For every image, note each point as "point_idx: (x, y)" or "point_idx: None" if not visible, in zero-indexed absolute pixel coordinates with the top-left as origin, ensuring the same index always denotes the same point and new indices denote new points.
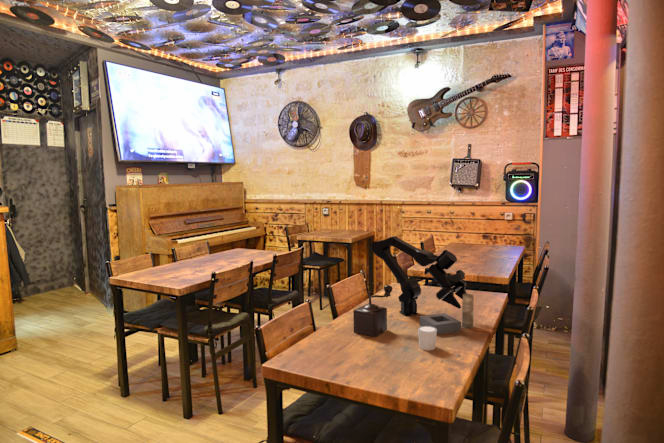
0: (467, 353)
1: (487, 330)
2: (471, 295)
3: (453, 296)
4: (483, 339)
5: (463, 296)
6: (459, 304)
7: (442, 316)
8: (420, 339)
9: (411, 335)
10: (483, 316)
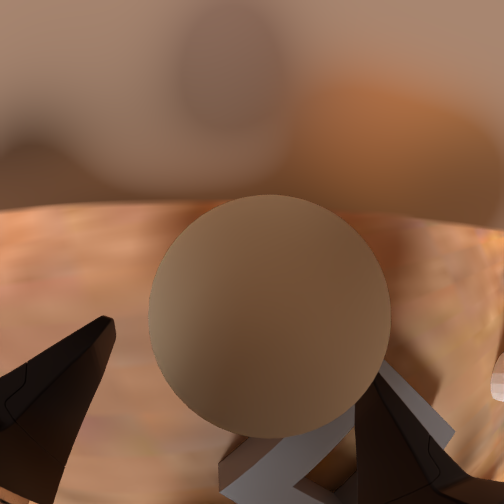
0: (492, 253)
1: None
2: (289, 236)
3: (446, 478)
4: (382, 216)
5: (352, 390)
6: (385, 391)
7: (291, 484)
8: None
9: None
10: (28, 262)
